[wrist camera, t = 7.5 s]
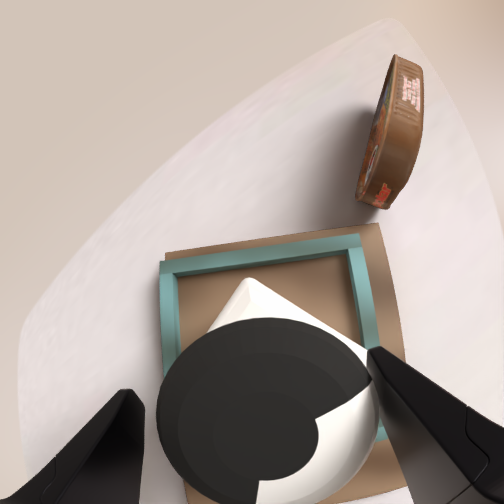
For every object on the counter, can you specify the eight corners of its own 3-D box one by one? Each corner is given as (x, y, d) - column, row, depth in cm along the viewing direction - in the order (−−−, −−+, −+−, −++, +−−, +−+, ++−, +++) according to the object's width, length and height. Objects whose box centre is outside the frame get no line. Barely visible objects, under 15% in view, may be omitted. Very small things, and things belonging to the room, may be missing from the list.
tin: (377, 101, 26) (390, 37, 18) (405, 110, 25) (424, 48, 17) (346, 219, 22) (368, 151, 14) (384, 232, 21) (422, 171, 13)
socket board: (404, 479, 14) (414, 489, 12) (194, 501, 16) (184, 513, 14) (374, 229, 21) (381, 216, 19) (171, 257, 23) (159, 248, 21)
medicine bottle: (196, 382, 18) (88, 442, 6) (257, 292, 19) (224, 234, 7) (287, 440, 16) (295, 563, 5) (350, 351, 17) (454, 379, 6)
